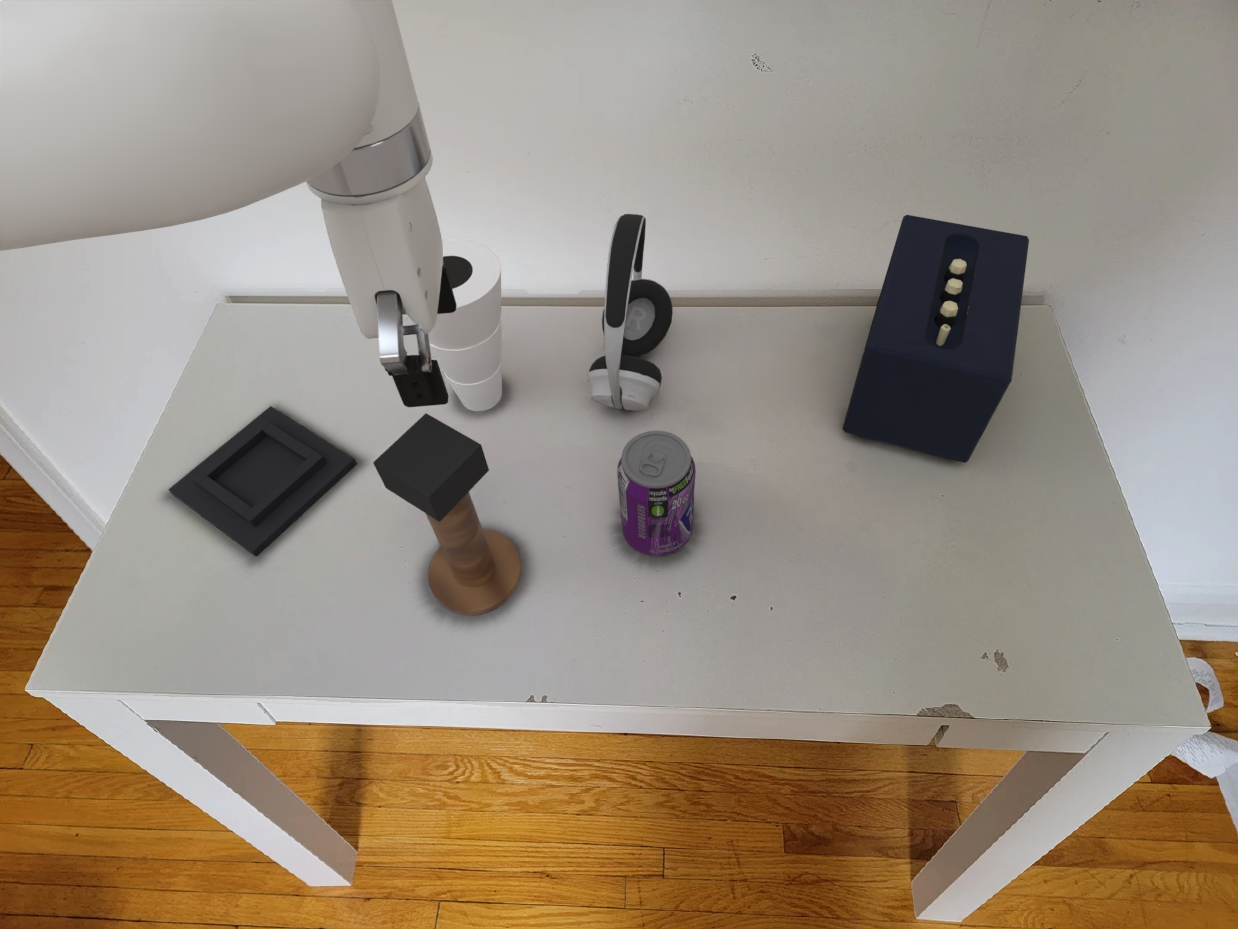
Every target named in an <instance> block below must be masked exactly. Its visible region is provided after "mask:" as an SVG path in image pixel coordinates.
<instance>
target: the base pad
mask: <svg viewBox="0 0 1238 929" xmlns="http://www.w3.org/2000/svg"><path fill="white" fill-rule="evenodd" d="M357 464H358V463H357V461H356V459H355V458H354V457H352V456H351V455H349V454H348V453H346V452H345V451H343V450H341V449H340V448H339V447H336V446H335V445H333V444H332V443H330V442H329V441H327V440H326V439H324V438H322V437H321V436H319V435H317V434H316V433H315V432H313V431H311V430H310V429H309V428H306V427H305V426H303V425H301V424H300V423H299V422H297V421H296V420H294V419H292V418H290V416H287V415H285V414H284V413H282V412H281V411H279V410H278V409H276V408H275V407H273V406H268V408H266V409H265V410H264V411H262V412H261V413H260V414H259V415H258V416H256V417H255V418H254V419H253V420H252V421H251V422H249V423H248V424H247V425H245V426H244V427H243V428H242V429H241V430H239V431H238V432H237V433H236V434H234V435H233V436H232V437H231V438H230V439H228V440H227V441H226V442H225V443H224V444H222V445H221V446H220V447H218V448H217V449H216V450H215V451H214V452H212V453H211V454H209V456H208V457H206V458H205V459H204V460H202V461H201V462H200V463H199V464H198V465H197V466H195V467H194V468H193V469H191V470H190V471H189V472H188V473H187V474H185V475H184V476H183V477H182V478H181V479H179V480H178V481H177V482H176V483H174V484H173V485H172V486H171V487H169V488H168V491H169V492H170V494H172V496H174V497H175V498H176V499H178V500H179V501H181V502H182V503H183V504H185V505H186V506H187V507H188V508H190V509H191V510H192V511H194V512H195V513H196V514H198V515H199V516H200V517H202V518H203V519H204V520H206V521H207V522H209V523H210V524H211V525H213V526H214V527H215V528H217V529H218V530H219V531H220V532H222V533H223V534H224V535H226V536H227V537H229V538H230V539H231V540H233V541H234V542H235V543H236V544H238V545H239V546H241V547H242V548H243V549H245V550H246V551H247V552H248V553H250V554H251V555H253V556H254V557H257V556H259V555H260V554H261V553H262V552H263V551H264V550H265V549H266V548H268V547H269V546H270V545H271V544H272V543H273V542H274V541H275V540H276V539H277V538H278V537H280V536H281V535H282V534H283V533H284V532H286V530H287V529H288V528H289V527H290V526H291V525H293V524H294V523H295V522H296V521H297V520H298V519H299V518H300V517H301V516H302V515H303V514H304V513H306V512H307V511H308V510H309V509H310V508H311V507H312V506H313V505H314V504H315V503H316V502H318V500H320V499H321V498H322V497H323V496H324V495H325V494H326V493H327V492H328V491H330V489H332V488H333V487H334V486H335V485H336V484H337V483H338V482H339V481H340V480H341V479H342V478H343V477H344V476H346V475H347V474H348V473H349V472H350V471H351V470H353V468H354V467H356V466H357Z"/></svg>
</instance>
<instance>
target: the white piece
mask: <svg viewBox="0 0 1238 929" xmlns="http://www.w3.org/2000/svg"><path fill="white" fill-rule="evenodd" d="M442 245H443V266H442V268H446V269H447V272H448V276H449V279H450V283H451V287H452V290H453V294H454V297H455V301H456V311H455V312H453V313H444V314H437V318H436V323H435V326H434V327H433V329H432V330H431V331H430V332H429V333H428V337H429V345H430V352H431V355H432V356H433V358H434V360H437V362H438V365H439V368H440V370H442V372H443V374H444V376H445V378H446V379H447V381H448V383H449V384H450V386H451V387H452V389H453V392H455V394H456V396H457V398H458V399H459V401H460V403H461V404H462V405H463V407H464V408H466V409H467V410H469V411H473V412H485V411H488V410H491V409H493V408H495V407H496V406H497V405H498V404H499V403H500V401H501V400H502V397H503V371H502V370H503V364H502V363H503V361H502V360H503V359H502V264H501V260H500V258H499V255H498V254H497V253H496V252H495V250H493V249H492V248H491V247H490V246H488V245H486V244H485V243H482V242H481V241H478V240H474V239H469V238H462V237H461V238H460V237H459V238H458V237H456V238H453V237H452V238H451V237H450V238H444V239H442ZM411 322H412V323H413V325H416V324H415V323H414V322H413V321H412V320H411Z"/></svg>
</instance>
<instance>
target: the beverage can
mask: <svg viewBox="0 0 1238 929" xmlns="http://www.w3.org/2000/svg"><path fill="white" fill-rule="evenodd" d="M616 470H617V471H616V475H617V487H618V499H619V510H620V511H619V512H620V525H621V533H622V536H623V538H624V539H625V541H626V543H627V544H628V545H629V546H630V547H631V548H632V549H634V550H635V551H637V552H639V553H641V554H644V555H647V556H651V557H662V556H667V555H671V554H673V553H676V552H677V551H679V550H681V549H682V548H683V547H684V546H685V545H686V544H687V543H688V541H690V538H691V536H692V533H693V528H694V527H693V526H694V507H695V490H696V473H697V472H696V465H695V460H694V458H693V456H692V454H691V451H690V448H689V446H688V444H687V443H686V442H685V441H684V440H683V439H682V438H681V437H679V436H677V435H676V434H674V433H671V432H668V431H665V430H649V431H643V432H641V433H639V434H637V435H635V436H633V437H632V438H631V439H630V440H628V442H626V444H625V446H624V447H623V449H622V452H621V456H620V458H619V461H618V463H617V469H616Z"/></svg>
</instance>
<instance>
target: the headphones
mask: <svg viewBox="0 0 1238 929" xmlns="http://www.w3.org/2000/svg"><path fill="white" fill-rule="evenodd" d="M646 224H647V219H646V217H645V216H643V214H636V213H624V214H622V215H620V216H619V217H618V218H617V219H616V221H615V223H614V226H613V229H612V233H611V237H610V242H609V247H608V254H607V267H606V273H605V275H606V276H605V290H604V291H605V292H604V307H603V310H602V315H601V329H602V330H601V331H602V333H603V336H604V352H605V353H604V354H605V355H604V356H600V357H599V358H597V359H595V360H594V361H593V362H592V364H591V365H590V368H589V370H588V372H587V375H586V376H587V379H586V382H587V383H588V385H589V388H590V398H591V399H592V400H593V401H595V402H596V403H599V404H601V405H603V406H606V407H610V408H614V409H616V410H619V411H620V410H622V409H624V410H625V411H643V410H647V409H648V406H649V403H650V402H651V400H653V398H654V397H655V396H657V395H658V394H659V392H660V389H661V386H662V380H663V379H662V378H663V375H662V372H661V369H660V367H658V366H657V365H656V364H655V363H654V362H652V361H650V360H648V359H646V358H642V356H644V355H647V354H649V353H650V352H652V351H653V350H654V349H656V348H657V347H658V346H659V345H660V344H661V343H662V341H663V340H664V339H665V337H666V336H667V334H668V332H669V329H670V327H671V325H672V322H673V314H674V312H673V310H674V309H673V308H674V306H673V302H672V299H671V296H670V294H669V292H668V290H667V289H666V288H665V287H664V286H663V285H661V283H659V282H657V281H655V280H653V279H650V278H643V265H644V264H643V263H644V252H645V251H644V250H645V242H646V227H647V226H646ZM632 278H633V279H632Z"/></svg>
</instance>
